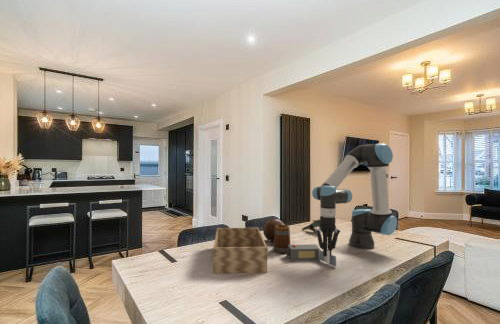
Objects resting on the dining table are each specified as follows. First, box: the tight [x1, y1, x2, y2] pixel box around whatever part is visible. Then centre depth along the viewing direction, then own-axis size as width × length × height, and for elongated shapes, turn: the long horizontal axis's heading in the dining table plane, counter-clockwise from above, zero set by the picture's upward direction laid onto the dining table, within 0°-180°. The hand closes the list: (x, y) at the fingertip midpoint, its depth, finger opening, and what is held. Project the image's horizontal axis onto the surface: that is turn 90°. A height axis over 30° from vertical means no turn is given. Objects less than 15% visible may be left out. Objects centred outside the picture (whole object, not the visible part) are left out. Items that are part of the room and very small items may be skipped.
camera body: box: [286, 243, 321, 262], centre depth 146 cm, size 17×8×7 cm, turn 95°
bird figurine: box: [301, 218, 320, 235], centre depth 201 cm, size 13×10×20 cm
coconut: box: [262, 218, 284, 243], centre depth 176 cm, size 15×15×15 cm
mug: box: [272, 223, 291, 255], centre depth 159 cm, size 16×11×15 cm
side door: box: [317, 248, 337, 267], centre depth 137 cm, size 12×1×6 cm, turn 28°
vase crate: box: [212, 227, 268, 275], centre depth 144 cm, size 26×40×12 cm, turn 5°
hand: (327, 262), depth 134 cm, fingers closed
